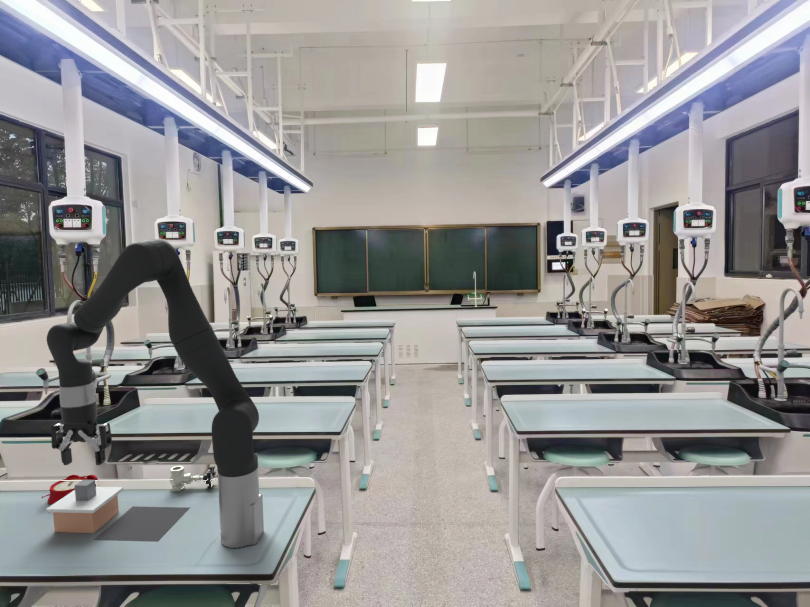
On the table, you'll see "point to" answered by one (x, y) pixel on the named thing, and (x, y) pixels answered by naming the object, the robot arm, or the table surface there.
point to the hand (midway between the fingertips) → (84, 464)
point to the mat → (143, 524)
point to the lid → (85, 498)
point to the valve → (188, 477)
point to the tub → (85, 519)
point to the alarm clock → (65, 487)
